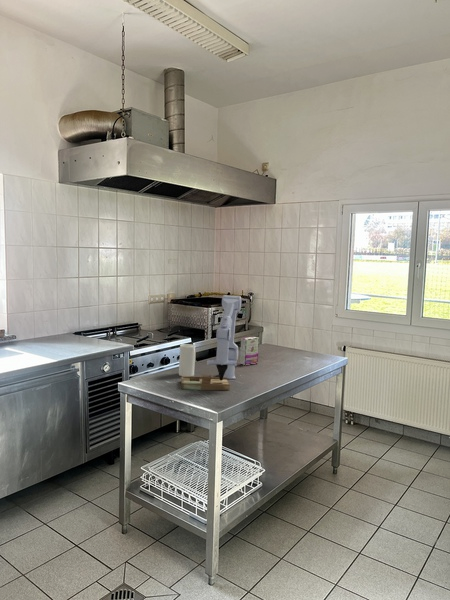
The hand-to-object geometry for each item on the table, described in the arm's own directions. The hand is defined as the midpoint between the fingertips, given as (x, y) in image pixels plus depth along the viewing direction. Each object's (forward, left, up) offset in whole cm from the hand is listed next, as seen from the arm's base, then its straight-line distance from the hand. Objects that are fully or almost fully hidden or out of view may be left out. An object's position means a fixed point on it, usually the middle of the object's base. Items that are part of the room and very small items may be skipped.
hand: (221, 379), depth 217 cm
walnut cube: (0, -7, -2) cm, 8 cm away
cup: (-23, -16, -4) cm, 29 cm away
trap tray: (-3, -7, -4) cm, 9 cm away
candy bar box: (-51, +23, -4) cm, 57 cm away
